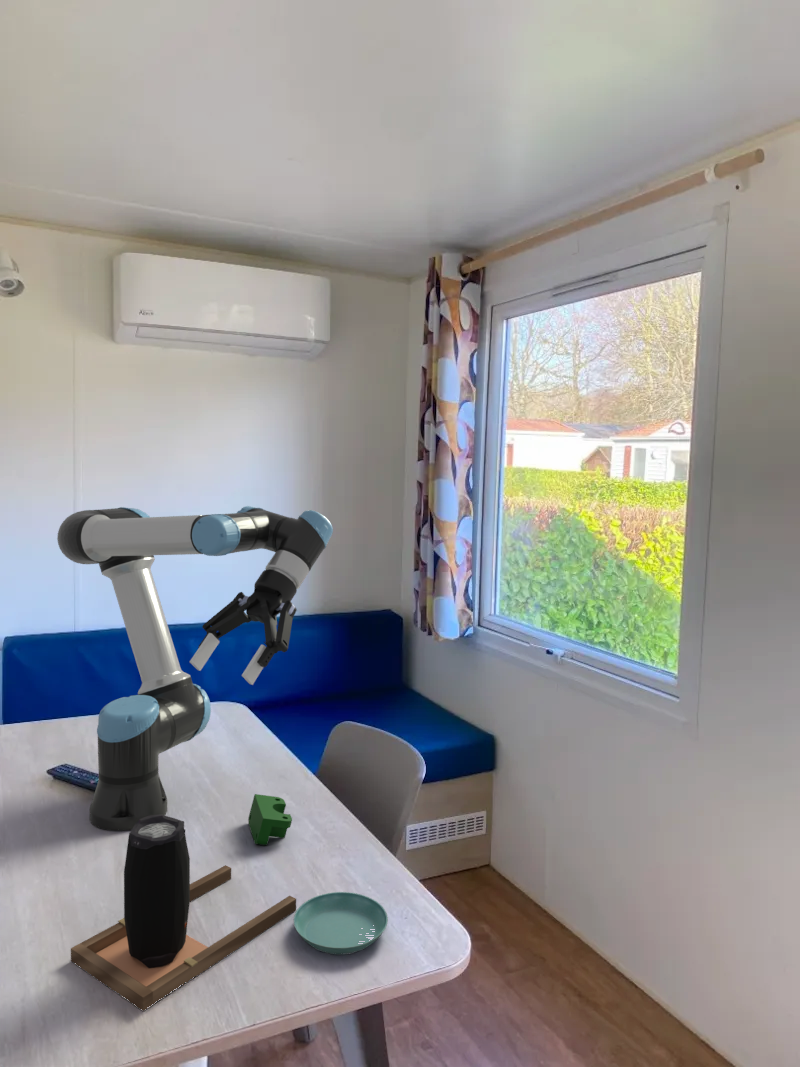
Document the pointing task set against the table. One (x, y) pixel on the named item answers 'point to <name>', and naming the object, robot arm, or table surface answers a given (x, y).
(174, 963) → the flat panel
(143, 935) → the portable speaker
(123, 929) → the rail track
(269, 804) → the clamp
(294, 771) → the table surface
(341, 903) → the saucer
